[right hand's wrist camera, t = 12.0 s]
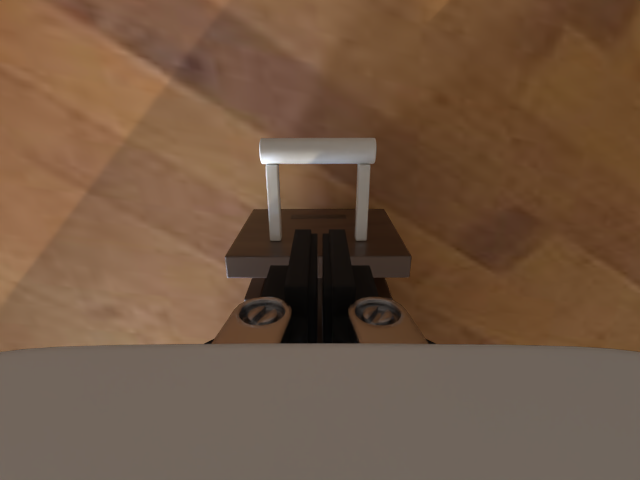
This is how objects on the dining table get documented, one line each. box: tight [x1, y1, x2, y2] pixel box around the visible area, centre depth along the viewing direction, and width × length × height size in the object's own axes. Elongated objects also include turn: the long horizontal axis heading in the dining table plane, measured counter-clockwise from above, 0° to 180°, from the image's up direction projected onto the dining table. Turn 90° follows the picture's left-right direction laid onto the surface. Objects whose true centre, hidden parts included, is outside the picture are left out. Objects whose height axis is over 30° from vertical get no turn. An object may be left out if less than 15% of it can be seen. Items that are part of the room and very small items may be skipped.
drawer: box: [225, 138, 411, 344], centre depth 23 cm, size 22×9×8 cm, turn 0°
